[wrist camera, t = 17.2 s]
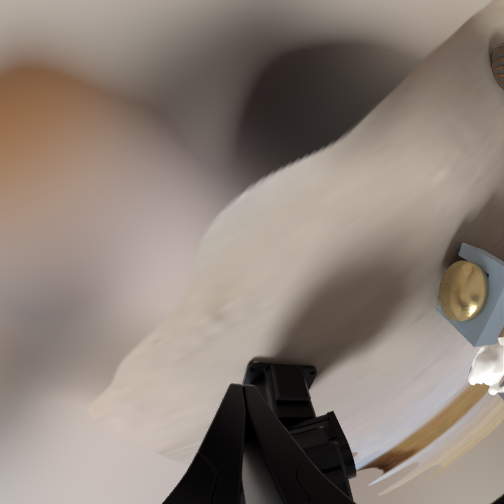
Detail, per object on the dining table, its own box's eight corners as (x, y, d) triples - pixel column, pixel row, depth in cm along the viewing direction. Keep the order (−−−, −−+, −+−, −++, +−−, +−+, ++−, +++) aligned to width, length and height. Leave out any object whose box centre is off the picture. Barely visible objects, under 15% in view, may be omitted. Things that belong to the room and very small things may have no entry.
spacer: (435, 309, 23) (473, 346, 16) (462, 242, 20) (510, 270, 14) (458, 310, 23) (494, 344, 17) (483, 249, 21) (526, 275, 15)
